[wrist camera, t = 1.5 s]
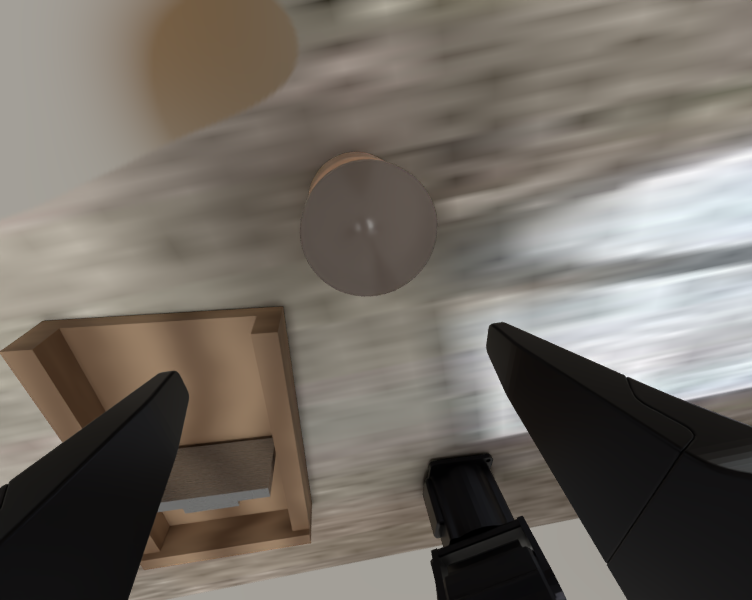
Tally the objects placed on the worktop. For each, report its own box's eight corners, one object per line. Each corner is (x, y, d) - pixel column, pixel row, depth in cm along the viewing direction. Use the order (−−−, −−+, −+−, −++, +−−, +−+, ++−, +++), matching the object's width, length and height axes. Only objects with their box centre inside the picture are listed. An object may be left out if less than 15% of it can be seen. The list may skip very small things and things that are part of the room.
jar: (408, 149, 18) (444, 161, 12) (402, 249, 20) (430, 292, 15) (301, 149, 17) (292, 161, 12) (310, 253, 20) (306, 300, 14)
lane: (282, 306, 21) (276, 337, 18) (311, 503, 32) (310, 543, 29) (42, 321, 19) (-10, 358, 16) (161, 525, 30) (144, 570, 27)
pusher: (275, 437, 25) (268, 487, 22) (283, 476, 27) (278, 527, 24) (130, 454, 24) (97, 511, 20) (152, 493, 26) (126, 550, 23)
